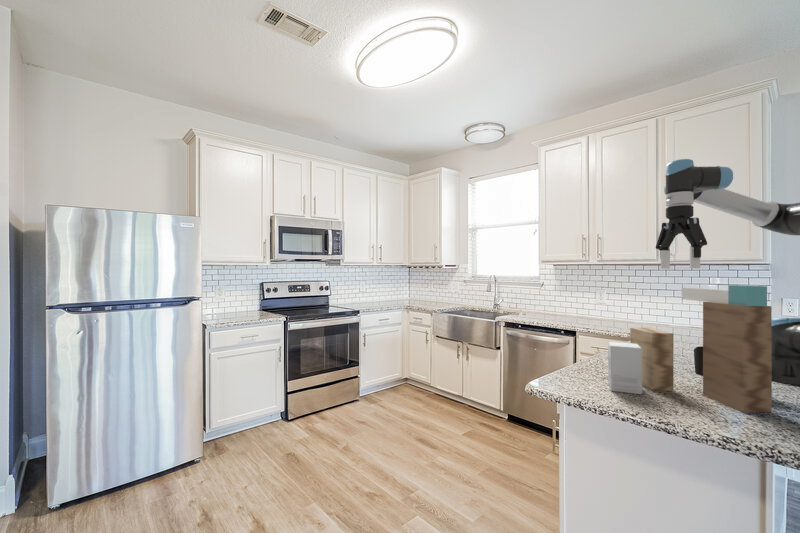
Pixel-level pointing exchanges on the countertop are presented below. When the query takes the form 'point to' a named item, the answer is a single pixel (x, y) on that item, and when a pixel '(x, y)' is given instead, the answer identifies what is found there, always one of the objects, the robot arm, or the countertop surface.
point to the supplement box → (625, 367)
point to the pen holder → (698, 360)
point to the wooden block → (655, 357)
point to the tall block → (738, 356)
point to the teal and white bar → (729, 295)
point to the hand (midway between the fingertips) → (679, 268)
